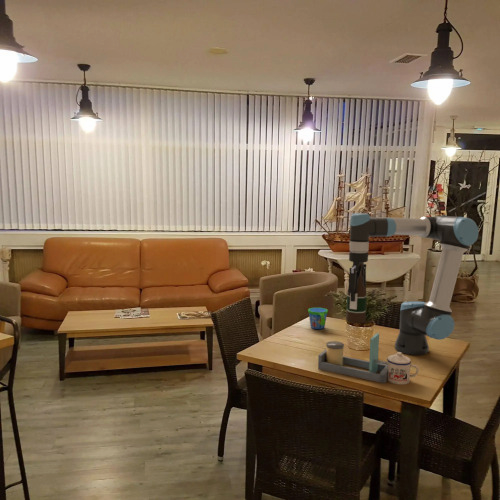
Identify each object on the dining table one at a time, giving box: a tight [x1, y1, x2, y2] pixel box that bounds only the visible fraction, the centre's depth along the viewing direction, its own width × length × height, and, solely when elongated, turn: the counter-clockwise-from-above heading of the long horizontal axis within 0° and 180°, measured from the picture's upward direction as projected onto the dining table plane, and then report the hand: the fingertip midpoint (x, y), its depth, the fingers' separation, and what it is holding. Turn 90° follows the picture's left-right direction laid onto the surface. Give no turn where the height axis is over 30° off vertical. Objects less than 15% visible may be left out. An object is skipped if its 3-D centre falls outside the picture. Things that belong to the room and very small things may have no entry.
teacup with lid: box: [386, 351, 419, 385], centre depth 183 cm, size 12×9×12 cm
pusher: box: [368, 332, 388, 373], centre depth 186 cm, size 7×9×16 cm
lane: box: [317, 348, 388, 384], centre depth 192 cm, size 28×12×6 cm, turn 59°
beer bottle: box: [345, 264, 368, 325], centre depth 189 cm, size 8×8×24 cm
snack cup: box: [307, 307, 329, 330], centre depth 252 cm, size 16×10×10 cm
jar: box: [326, 340, 345, 366], centre depth 197 cm, size 7×7×10 cm
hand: (356, 306), depth 190 cm, fingers closed on beer bottle, 7 cm apart
